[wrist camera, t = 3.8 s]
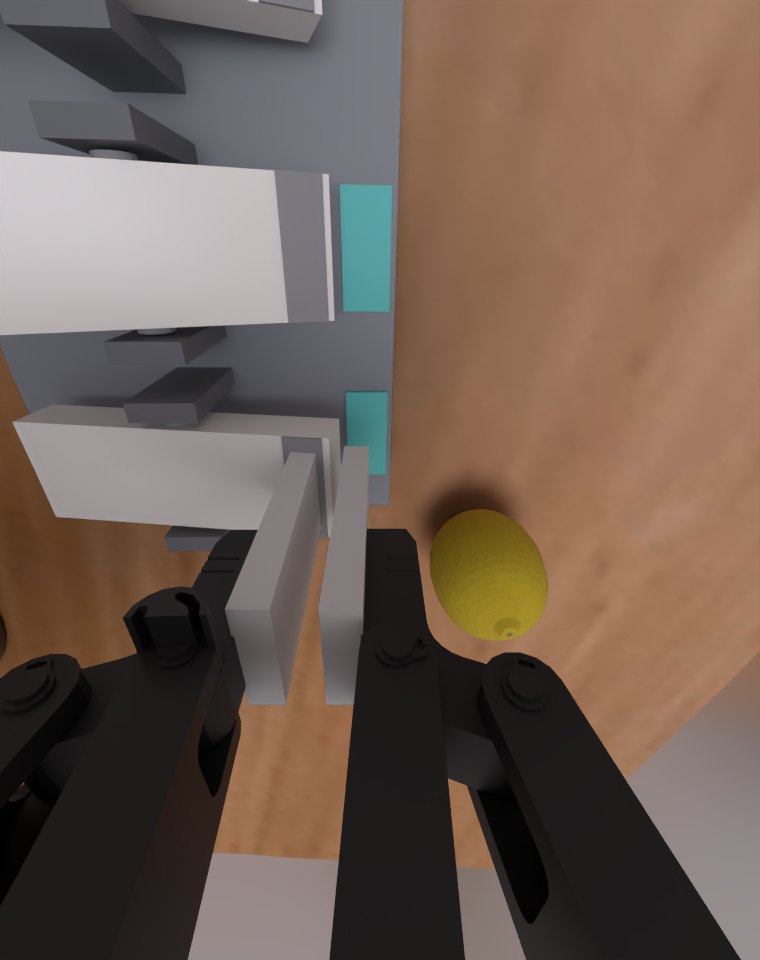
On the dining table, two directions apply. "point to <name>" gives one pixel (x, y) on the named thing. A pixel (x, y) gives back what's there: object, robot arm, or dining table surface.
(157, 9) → the rocker
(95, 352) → the console
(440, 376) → the dining table surface
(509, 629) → the lemon
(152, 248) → the rocker
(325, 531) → the rocker
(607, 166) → the dining table surface
